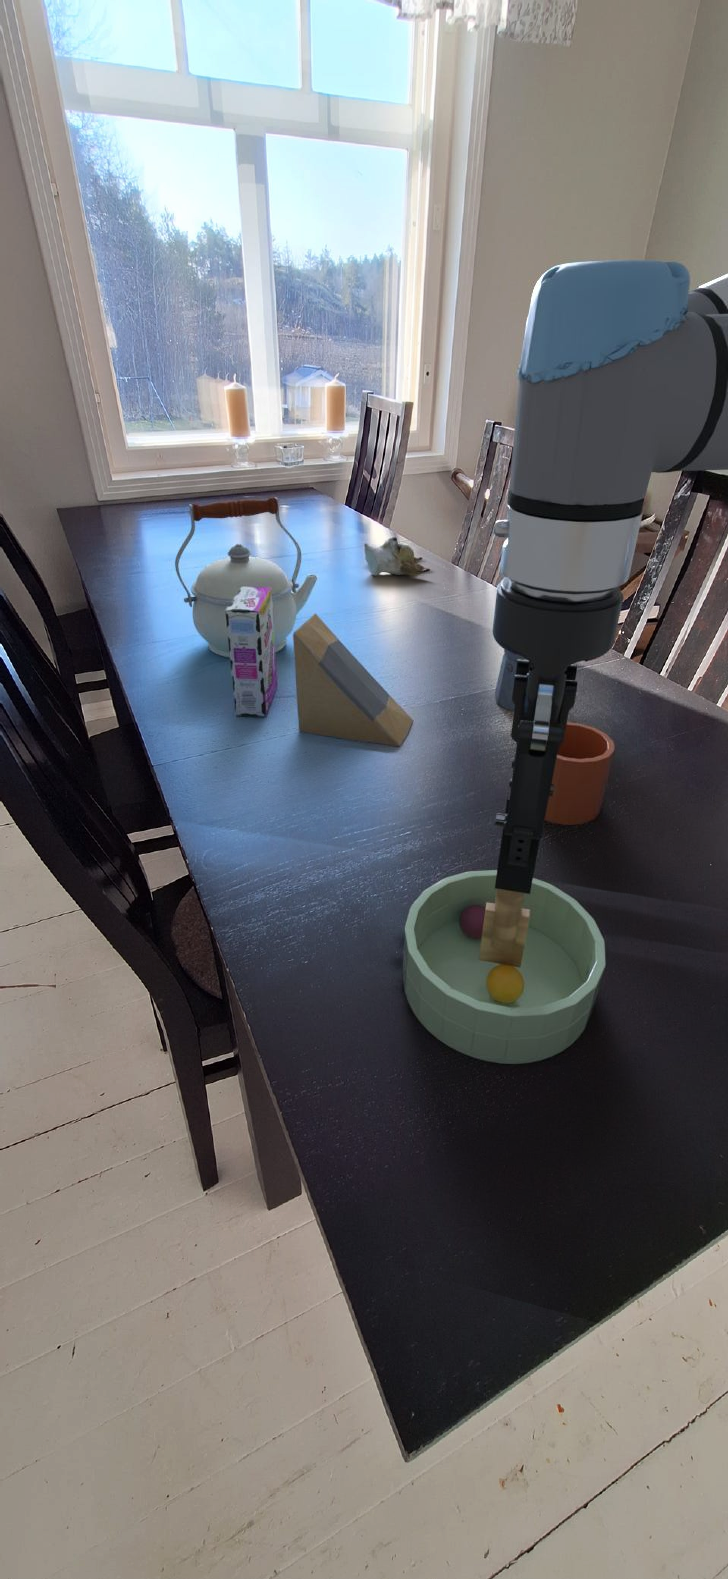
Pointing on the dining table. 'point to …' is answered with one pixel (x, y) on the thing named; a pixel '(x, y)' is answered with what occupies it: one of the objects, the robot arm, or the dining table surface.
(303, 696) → the sandwich container
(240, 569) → the kettle
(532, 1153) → the dining table surface
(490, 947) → the wooden stirring stick
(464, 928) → the bead
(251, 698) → the candy bar box
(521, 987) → the bead
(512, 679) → the moka pot
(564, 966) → the bowl
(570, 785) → the crock
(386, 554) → the ceramic sculpture
